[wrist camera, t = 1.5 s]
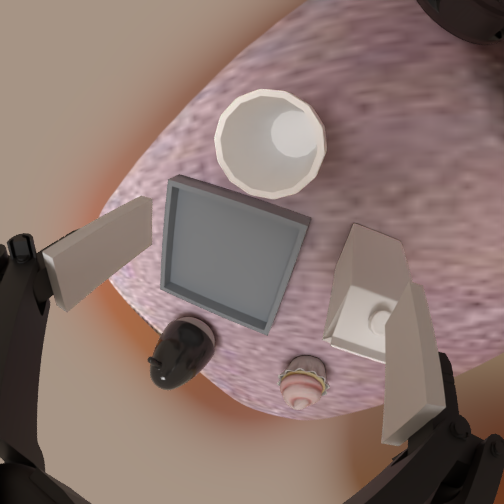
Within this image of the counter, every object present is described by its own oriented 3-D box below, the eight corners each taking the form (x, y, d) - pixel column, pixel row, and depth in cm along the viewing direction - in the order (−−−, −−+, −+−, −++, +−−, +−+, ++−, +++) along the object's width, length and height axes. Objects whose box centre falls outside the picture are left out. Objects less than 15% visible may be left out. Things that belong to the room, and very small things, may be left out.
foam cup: (255, 162, 37) (211, 188, 26) (262, 93, 32) (217, 86, 22) (327, 176, 35) (315, 208, 24) (338, 104, 30) (332, 97, 19)
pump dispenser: (214, 309, 51) (171, 370, 39) (227, 351, 55) (193, 410, 43) (168, 305, 55) (123, 357, 42) (184, 344, 59) (147, 396, 46)
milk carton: (380, 283, 39) (383, 390, 23) (335, 266, 40) (315, 370, 24) (401, 240, 35) (426, 340, 19) (353, 222, 36) (348, 314, 20)
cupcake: (313, 341, 47) (301, 386, 39) (342, 372, 49) (334, 416, 40) (273, 358, 52) (256, 399, 44) (302, 386, 54) (290, 426, 45)
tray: (179, 174, 41) (168, 179, 39) (311, 217, 38) (307, 226, 35) (169, 280, 52) (160, 289, 49) (272, 323, 48) (267, 335, 46)
